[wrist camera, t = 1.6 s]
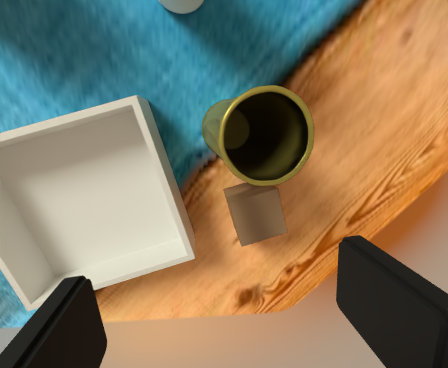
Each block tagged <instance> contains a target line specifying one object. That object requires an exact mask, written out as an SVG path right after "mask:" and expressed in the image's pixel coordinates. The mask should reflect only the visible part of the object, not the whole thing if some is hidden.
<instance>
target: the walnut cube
mask: <svg viewBox="0 0 448 368" xmlns="http://www.w3.org/2000/svg"><path fill="white" fill-rule="evenodd" d="M223 190H224V193H225V197H226V200H227V203H228V207H229V210H230V214H231V217H232V221H233V224H234V227H235V230H236V233H237V235H238V238H239V241H240V243H241V246H242V247H243V246H246V245H249V244H252V243H255V242H259V241H262V240H265V239H268V238H271V237H274V236H278V235H281V234H284V233H287V228H286V224H285V219H284V215H283V210H282V205H281V201H280V196H279V192H278V188H276V187H275V186H274V185H270V186H256V185H252V184H250V183H248V182H246V183H243V184H239V185H236V186H233V187H229V188H226V189H223Z"/></svg>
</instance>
